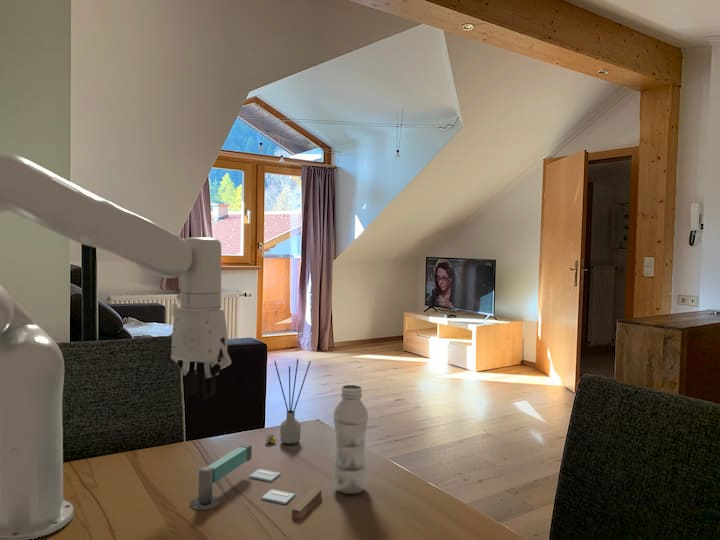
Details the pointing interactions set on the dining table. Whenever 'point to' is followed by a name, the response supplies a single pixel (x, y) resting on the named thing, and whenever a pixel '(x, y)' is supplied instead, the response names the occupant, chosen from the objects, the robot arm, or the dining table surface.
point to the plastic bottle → (350, 442)
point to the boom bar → (221, 470)
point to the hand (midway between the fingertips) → (200, 394)
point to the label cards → (272, 494)
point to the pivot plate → (206, 506)
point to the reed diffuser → (289, 417)
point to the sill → (306, 504)
